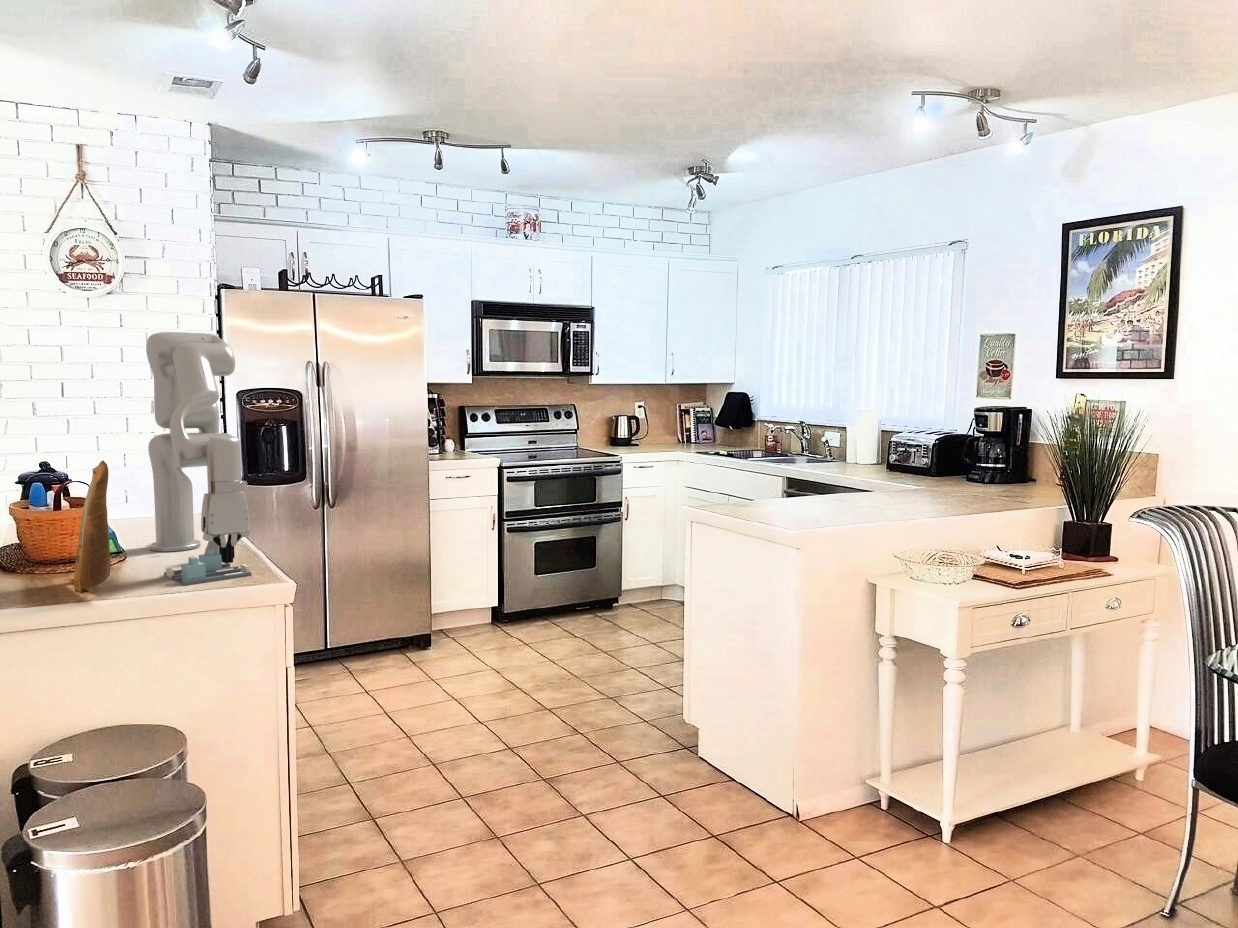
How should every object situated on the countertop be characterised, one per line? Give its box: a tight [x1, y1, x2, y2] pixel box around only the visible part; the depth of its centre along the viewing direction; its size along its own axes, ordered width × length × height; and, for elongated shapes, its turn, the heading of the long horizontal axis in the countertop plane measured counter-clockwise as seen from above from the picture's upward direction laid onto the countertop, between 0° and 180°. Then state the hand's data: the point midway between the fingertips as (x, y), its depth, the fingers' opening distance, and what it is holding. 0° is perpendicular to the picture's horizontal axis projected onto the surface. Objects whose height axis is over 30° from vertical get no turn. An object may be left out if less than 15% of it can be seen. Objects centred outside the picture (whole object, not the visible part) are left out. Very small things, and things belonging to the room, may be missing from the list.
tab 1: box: [180, 555, 206, 581], centre depth 204 cm, size 4×4×6 cm
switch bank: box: [163, 563, 253, 587], centre depth 210 cm, size 14×15×3 cm
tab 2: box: [198, 547, 223, 571], centre depth 214 cm, size 4×4×6 cm
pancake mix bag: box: [73, 460, 111, 594], centre depth 203 cm, size 7×19×28 cm, turn 16°
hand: (227, 562), depth 217 cm, fingers closed
